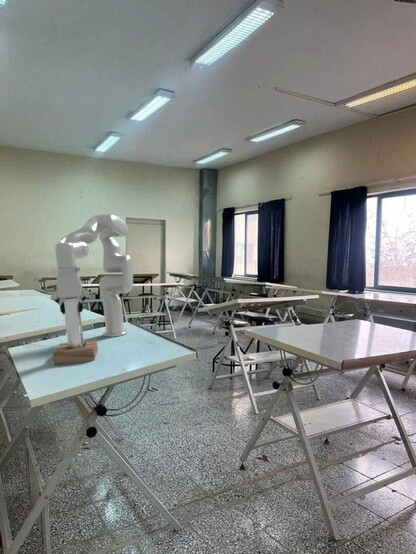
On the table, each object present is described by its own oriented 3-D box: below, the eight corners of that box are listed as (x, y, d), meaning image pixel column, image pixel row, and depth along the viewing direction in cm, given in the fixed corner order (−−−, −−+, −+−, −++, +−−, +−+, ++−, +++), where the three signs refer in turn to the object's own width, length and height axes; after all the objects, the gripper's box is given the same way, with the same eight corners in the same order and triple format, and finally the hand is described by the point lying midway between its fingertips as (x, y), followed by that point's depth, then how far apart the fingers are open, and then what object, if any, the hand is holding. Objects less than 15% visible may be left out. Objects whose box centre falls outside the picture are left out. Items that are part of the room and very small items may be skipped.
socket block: (61, 354, 170) (60, 343, 170) (97, 349, 173) (96, 339, 173) (54, 365, 155) (52, 353, 154) (94, 360, 158) (93, 348, 157)
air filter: (80, 350, 169) (74, 296, 166) (87, 353, 164) (81, 297, 161) (66, 354, 164) (60, 298, 161) (73, 357, 159) (66, 299, 157)
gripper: (89, 269, 165) (93, 308, 167) (48, 272, 162) (53, 313, 164) (87, 270, 158) (92, 312, 160) (44, 274, 155) (49, 316, 157)
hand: (72, 312), depth 162 cm, fingers closed on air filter, 6 cm apart
